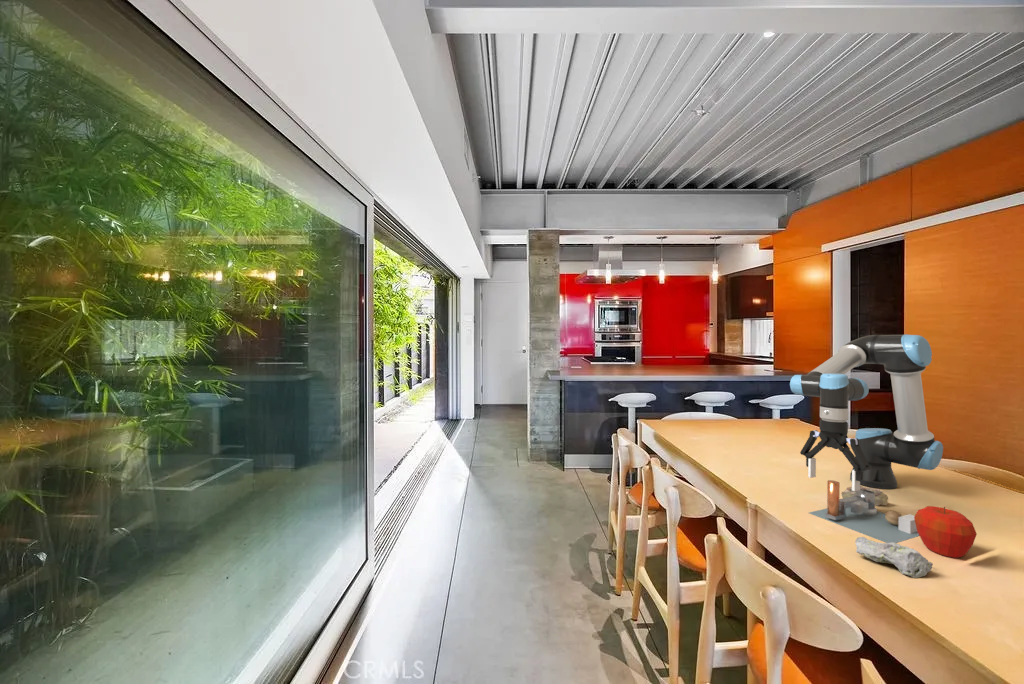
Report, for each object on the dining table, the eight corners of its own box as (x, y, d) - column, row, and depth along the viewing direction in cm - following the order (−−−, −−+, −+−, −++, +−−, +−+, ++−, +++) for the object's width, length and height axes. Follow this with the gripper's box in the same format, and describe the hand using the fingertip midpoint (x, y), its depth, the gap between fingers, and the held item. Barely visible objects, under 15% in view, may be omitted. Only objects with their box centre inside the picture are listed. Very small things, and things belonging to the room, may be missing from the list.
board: (851, 505, 154) (851, 491, 154) (937, 534, 132) (937, 517, 132) (807, 516, 146) (807, 501, 145) (890, 548, 123) (891, 531, 123)
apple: (902, 544, 125) (902, 498, 125) (943, 545, 125) (944, 498, 125) (944, 567, 113) (944, 515, 113) (989, 568, 113) (990, 516, 112)
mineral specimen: (851, 560, 117) (851, 536, 117) (856, 552, 122) (856, 528, 122) (929, 584, 105) (929, 558, 105) (931, 574, 110) (931, 548, 110)
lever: (861, 506, 149) (861, 472, 149) (881, 512, 143) (881, 477, 143) (822, 515, 141) (822, 480, 141) (842, 522, 136) (842, 486, 136)
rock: (892, 495, 149) (874, 481, 158) (855, 493, 151) (840, 479, 161) (890, 513, 150) (872, 498, 160) (853, 511, 152) (838, 496, 162)
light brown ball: (890, 520, 139) (890, 507, 139) (906, 526, 135) (906, 512, 135) (882, 523, 137) (882, 509, 137) (898, 528, 133) (898, 515, 133)
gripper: (789, 414, 150) (788, 473, 150) (869, 428, 126) (869, 498, 126) (803, 413, 152) (802, 471, 152) (885, 426, 129) (884, 494, 129)
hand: (832, 483), depth 139 cm, fingers open, 13 cm apart
